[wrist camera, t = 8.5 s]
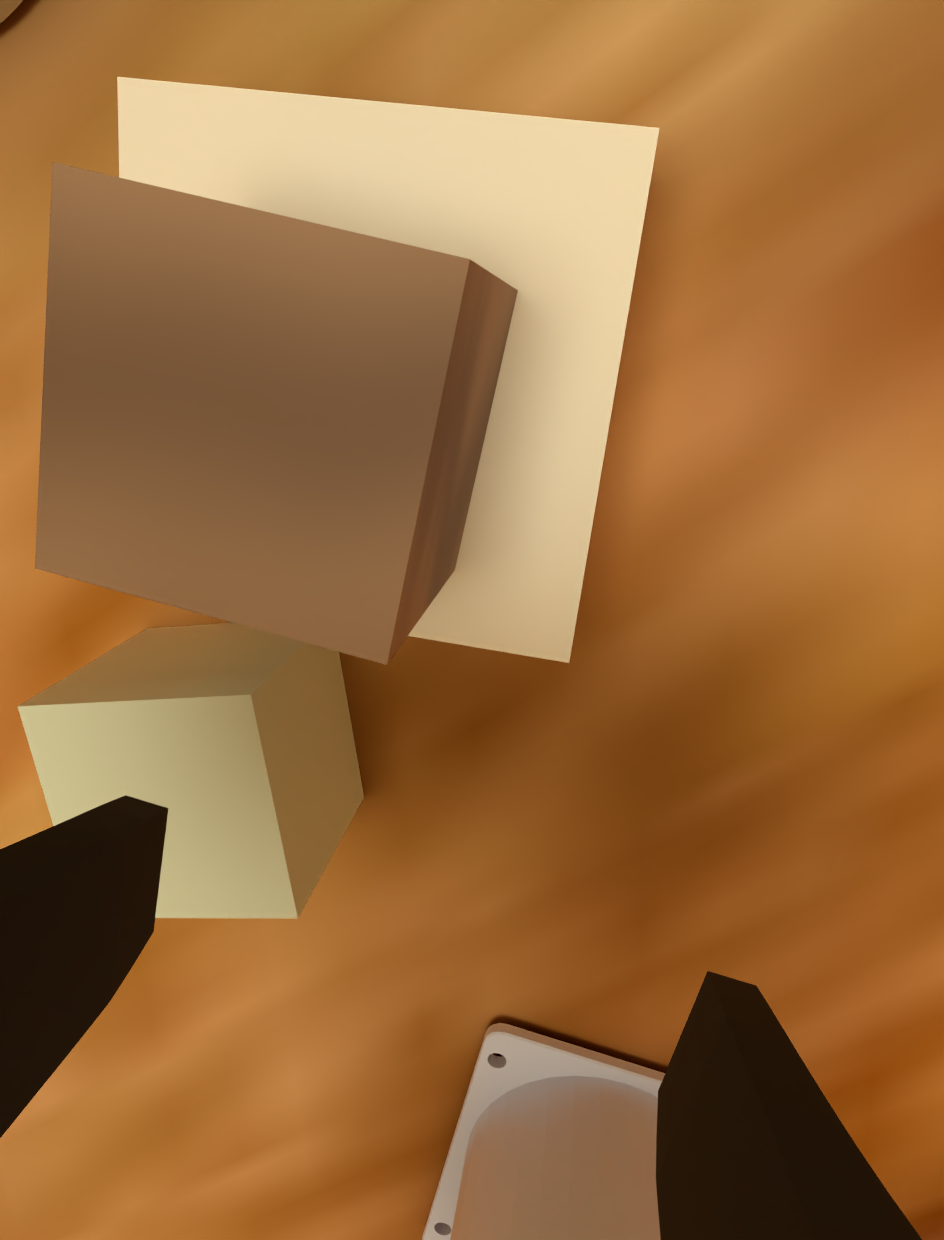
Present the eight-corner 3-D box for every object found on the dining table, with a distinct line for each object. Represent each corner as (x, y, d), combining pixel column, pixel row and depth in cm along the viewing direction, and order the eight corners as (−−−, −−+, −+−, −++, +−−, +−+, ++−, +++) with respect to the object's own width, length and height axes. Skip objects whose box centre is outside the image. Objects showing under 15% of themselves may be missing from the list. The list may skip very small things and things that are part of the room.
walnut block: (454, 569, 16) (386, 665, 11) (205, 504, 16) (34, 568, 11) (517, 290, 14) (470, 259, 9) (236, 224, 14) (53, 162, 10)
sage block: (364, 795, 22) (297, 918, 17) (190, 799, 23) (81, 917, 18) (333, 614, 20) (250, 694, 16) (148, 627, 21) (17, 706, 16)
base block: (577, 602, 19) (569, 663, 16) (216, 544, 20) (128, 588, 17) (648, 178, 17) (659, 127, 13) (222, 135, 18) (117, 77, 14)
